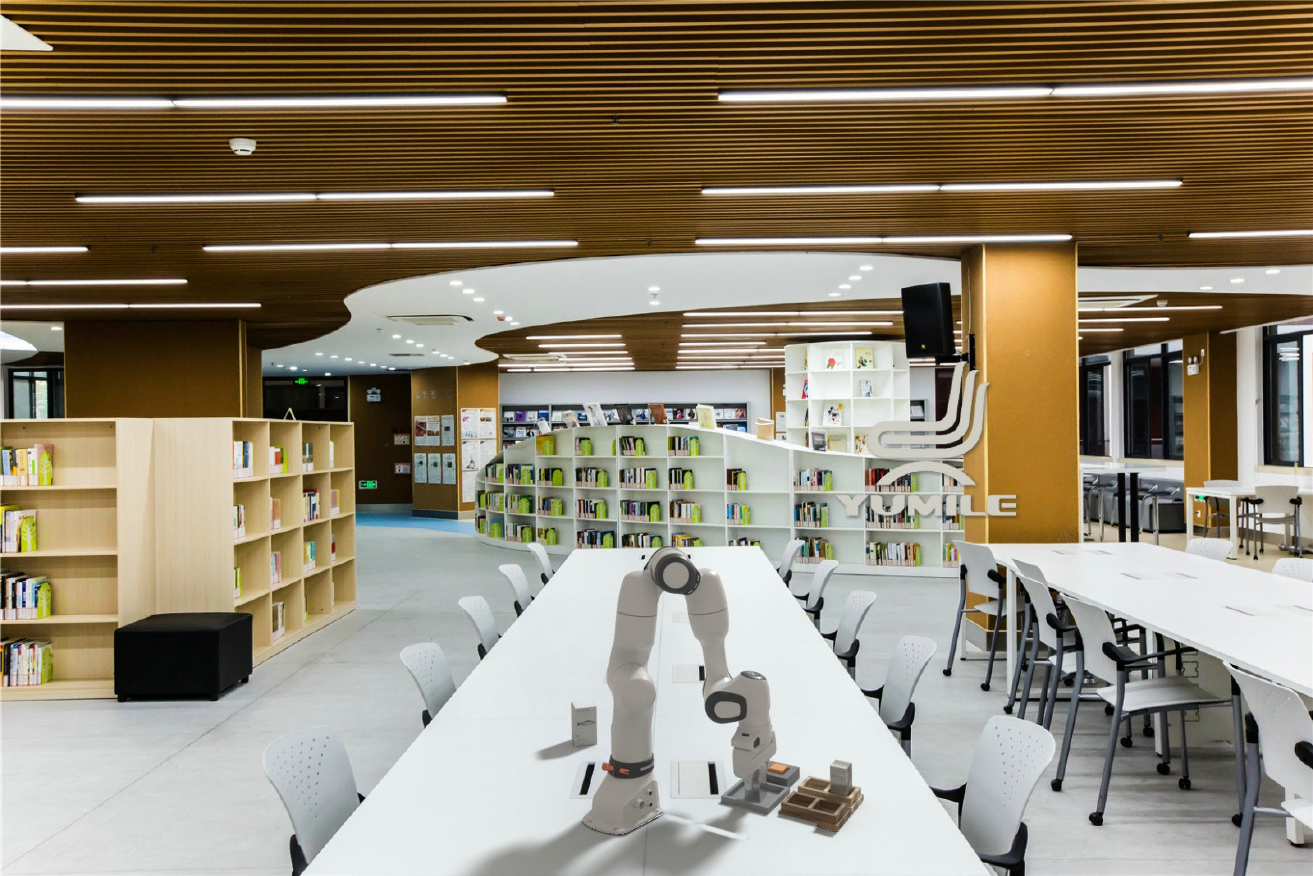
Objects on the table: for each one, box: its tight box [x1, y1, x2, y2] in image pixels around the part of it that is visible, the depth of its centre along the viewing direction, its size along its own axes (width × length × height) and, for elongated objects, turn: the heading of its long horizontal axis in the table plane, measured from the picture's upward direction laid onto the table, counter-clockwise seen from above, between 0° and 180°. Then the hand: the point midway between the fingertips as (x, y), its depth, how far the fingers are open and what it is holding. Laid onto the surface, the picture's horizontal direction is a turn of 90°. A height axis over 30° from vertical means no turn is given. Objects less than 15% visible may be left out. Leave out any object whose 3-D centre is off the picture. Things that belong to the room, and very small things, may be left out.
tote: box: [720, 778, 791, 815], centre depth 220 cm, size 14×14×2 cm
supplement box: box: [570, 699, 598, 747], centre depth 265 cm, size 7×7×13 cm
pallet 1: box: [797, 759, 865, 815], centre depth 220 cm, size 10×16×10 cm, turn 57°
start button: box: [769, 763, 788, 775], centre depth 230 cm, size 4×4×3 cm
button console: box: [766, 760, 801, 788], centre depth 230 cm, size 9×9×4 cm
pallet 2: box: [777, 790, 851, 833], centre depth 210 cm, size 10×16×4 cm, turn 57°
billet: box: [744, 763, 767, 802], centre depth 220 cm, size 4×5×9 cm
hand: (756, 782), depth 220 cm, fingers open, 8 cm apart
